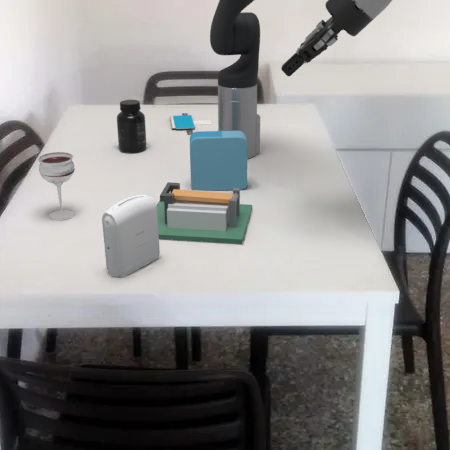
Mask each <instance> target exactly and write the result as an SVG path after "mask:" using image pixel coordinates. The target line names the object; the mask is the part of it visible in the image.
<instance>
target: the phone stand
mask: <svg viewBox="0 0 450 450" xmlns="http://www.w3.org/2000/svg"><path fill="white" fill-rule="evenodd" d="M168 119H169V122H170V128H171V129H172V130H171V131H173V129H176V130H179V131H184V132H185V131H186V134H187V135H191V134H192V133H194V131H193V129H196V127H195V126H207V125H208V126H209V125H210V126H211V125H213V123H212V120H208V119H207V120H206V119H205V120H193V117H192V115H191V114H188V112H185V113H184V112H183V113H181V115H180V114H179V115H172V116H169V117H168Z"/></svg>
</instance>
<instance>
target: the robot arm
mask: <svg viewBox="0 0 450 450" xmlns="http://www.w3.org/2000/svg"><path fill="white" fill-rule="evenodd" d="M254 1H255V0H219V1H218V3H217V6H216V9H215V11H214V14H213V18H212V21H211V24H210V25H211V26H210V32H209V42H210V47H211V49H212V51H213V52H214V54H216V55H219V56H239V55H240V57H239V58H238V59H237V60H235V62H233V63H232V64H231V65H228V66H226V67H224V68H222V69H221V70H220V71H219V72H218V74H217V103H218V104H217V117H218V118H217V121H218V122H217V125H218V129H217V131H242V132H243V133H244V134H245V136H246V139H247V159H250V158H253V157H255V156H256V155H260V154H261V116H260V114H258V74H259V67H260V66H259V65H260V64H259V62H260V61H259V59H260V47H261V45H260V44H261V26H260V25H261V24H260V20H259V17H258V16H257V14H255V12H251V11H250V12H247V11H246V12H242V11H244V10H245V9H246V8H247V7H248V6H249V5H250V4H252V3H253V2H254ZM392 2H393V0H327V1H326V2H325V9H326V11H327V12H328V13H329V14H330V17H329V19H327V20H326V21H325V20H324V19H321V20H320V21H319V22H318V23H317V24H316V25H315V28H314V29H313V30H312V31H311V32H310V33H309V34H308V35H307V36H305V38H304V39H305V40H304V41H303V42H301V43H300V45H299V47H297V49H296V50H295V53H294V54H292V55H291V56H290V57H289V58H288V59H287V61H285V62H284V63H283V64H282V65H281V71H282V72H283V73H284V74H285V75H286V77H291V76H292V75H293V74H294V73H295V72H296V71H297V70H299V69H300V67H302V66H303V65H304V64H308V63H310V62H311V61H312V60H313V59H315V58H317V57H319V56H320V55H321V54H322V53H323V52H324V51H327V50H328V48H329V47H332V46H333V45H334V44H335V43H336V42H337V41H338V40H339V39H338V37H339V34H340V33H341V31H345V32H346V34H348V35H349V36H351V37H356V36H357V35H358V34H359V33H361V31H363V30H364V29H365V28H366V27H367V26H368V25H369V24H370V23H371V22H373V20H375V18H377V17H378V16H379V15H380V14H381V13H382V12H383V11H384V10H385V9H386V8H388V6H389V5H390V4H391V3H392Z"/></svg>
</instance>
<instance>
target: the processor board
mask: <svg viewBox="0 0 450 450" xmlns="http://www.w3.org/2000/svg"><path fill="white" fill-rule="evenodd" d="M174 189H179V190H181V183H180V182H167V183H166V185H165V186H164V187H163V189H162V191H161V193H160V194H159V201H158V202H157V203H156V206H157V216H158V232H159V240H164V241H179V242H195V243H210V244H211V243H215V244H229V245H230V244H231V245H232V244H233V245H243V243H244V241H245V237H246V233H247V230H248V226H249V221H250V218H251V215H252V212H253V204H248V203H247V204H244V203H241V190H240V188H233V190H232V191H205V192H219V193H232V194H234V193H237V194H238V195H239V197H238V200H237V203H236V199H234V198H230V199H229V203H216V202H204V201H191V200H178V199H174V193H172V192H173V190H174ZM191 190H192V191H200V190H194V189H191Z"/></svg>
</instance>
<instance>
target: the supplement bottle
mask: <svg viewBox="0 0 450 450" xmlns="http://www.w3.org/2000/svg"><path fill="white" fill-rule="evenodd" d="M119 110H120V112H118V114H117V115H116V126H117V140H118V141H117V142H118V150H119V151H120V152H121V153H124V154H138V153H142V152H144V151H146V149H147V129H146V117H145V116H146V115H145V114H144V113H143V112H142V111H140V110H141V102H140V100H138V99H125V100H121V101H120V102H119Z"/></svg>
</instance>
